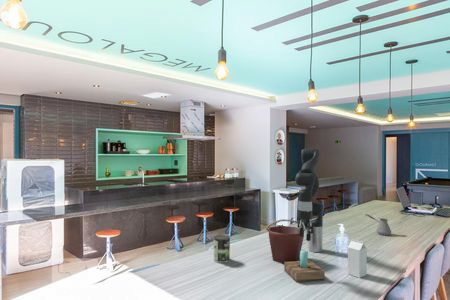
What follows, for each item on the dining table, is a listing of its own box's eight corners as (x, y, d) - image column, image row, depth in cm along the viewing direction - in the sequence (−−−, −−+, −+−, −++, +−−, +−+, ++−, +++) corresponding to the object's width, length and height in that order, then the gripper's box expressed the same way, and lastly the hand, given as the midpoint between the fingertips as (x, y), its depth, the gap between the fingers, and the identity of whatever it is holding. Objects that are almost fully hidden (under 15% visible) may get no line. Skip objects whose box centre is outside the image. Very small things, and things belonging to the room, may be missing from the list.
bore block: (284, 270, 175) (284, 262, 175) (310, 269, 178) (310, 260, 178) (296, 282, 160) (296, 272, 160) (324, 280, 163) (324, 270, 163)
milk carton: (359, 278, 166) (359, 242, 166) (347, 274, 172) (347, 239, 172) (366, 275, 170) (366, 240, 170) (354, 271, 176) (354, 237, 176)
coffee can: (232, 259, 194) (233, 236, 194) (224, 263, 185) (224, 240, 186) (219, 256, 200) (219, 234, 200) (210, 260, 191) (210, 237, 191)
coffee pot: (393, 234, 259) (393, 216, 259) (388, 237, 251) (388, 218, 251) (367, 229, 275) (368, 213, 275) (362, 231, 267) (362, 214, 267)
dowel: (298, 272, 171) (298, 250, 171) (305, 271, 171) (305, 250, 172) (301, 275, 167) (302, 253, 167) (308, 274, 167) (308, 252, 168)
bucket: (306, 256, 201) (307, 218, 201) (303, 268, 180) (303, 225, 180) (269, 252, 209) (270, 215, 209) (262, 262, 188) (262, 221, 189)
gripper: (293, 207, 176) (293, 235, 176) (304, 211, 162) (304, 242, 162) (305, 206, 178) (305, 234, 178) (317, 211, 164) (317, 241, 164)
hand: (304, 238), depth 170 cm, fingers open, 8 cm apart
